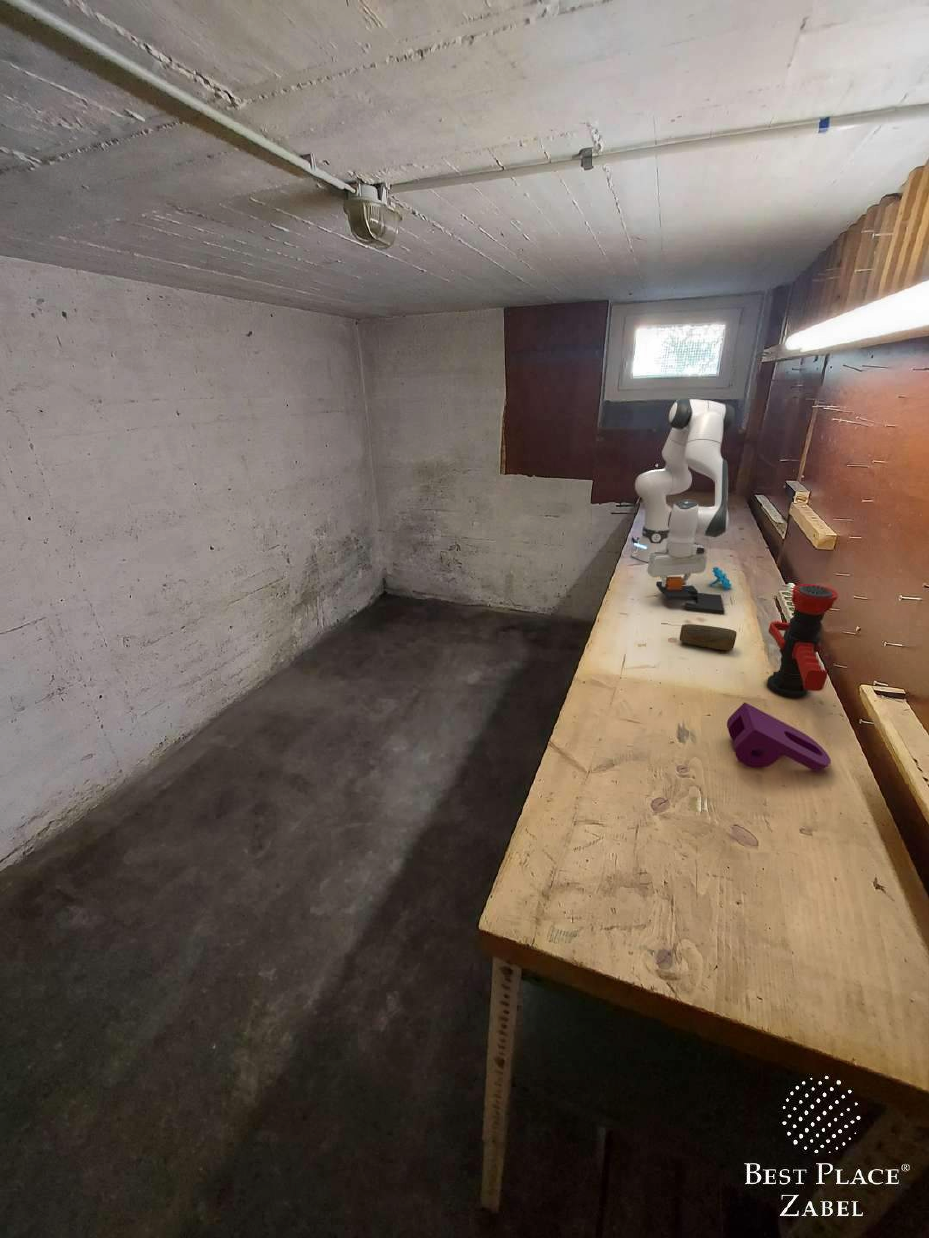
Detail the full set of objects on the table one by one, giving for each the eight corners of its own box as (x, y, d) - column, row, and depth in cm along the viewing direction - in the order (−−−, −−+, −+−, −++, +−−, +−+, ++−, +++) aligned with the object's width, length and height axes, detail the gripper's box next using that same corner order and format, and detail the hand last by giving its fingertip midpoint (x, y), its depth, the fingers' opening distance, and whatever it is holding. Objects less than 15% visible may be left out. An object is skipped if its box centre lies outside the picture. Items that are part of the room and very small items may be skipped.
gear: (729, 590, 178) (713, 567, 180) (715, 598, 182) (699, 576, 184) (735, 584, 186) (720, 563, 188) (721, 592, 190) (706, 571, 192)
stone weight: (733, 644, 145) (737, 625, 142) (733, 655, 140) (738, 635, 137) (679, 636, 151) (682, 617, 148) (677, 646, 146) (681, 627, 143)
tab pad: (656, 585, 180) (657, 571, 178) (688, 584, 179) (690, 570, 177) (666, 600, 168) (668, 585, 166) (701, 599, 167) (704, 585, 164)
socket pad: (684, 595, 180) (684, 591, 179) (720, 598, 176) (720, 594, 175) (685, 610, 168) (685, 606, 167) (723, 614, 164) (724, 610, 163)
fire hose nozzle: (809, 613, 101) (780, 572, 123) (778, 718, 114) (756, 664, 135) (864, 617, 99) (825, 575, 120) (826, 725, 111) (796, 669, 132)
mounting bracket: (792, 766, 107) (719, 727, 108) (821, 742, 103) (744, 701, 104) (806, 797, 99) (726, 755, 100) (838, 773, 95) (754, 729, 96)
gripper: (655, 553, 163) (650, 591, 169) (712, 548, 165) (705, 586, 171) (646, 548, 168) (642, 585, 174) (701, 543, 171) (695, 579, 177)
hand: (673, 585), depth 173 cm, fingers closed on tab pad, 5 cm apart
